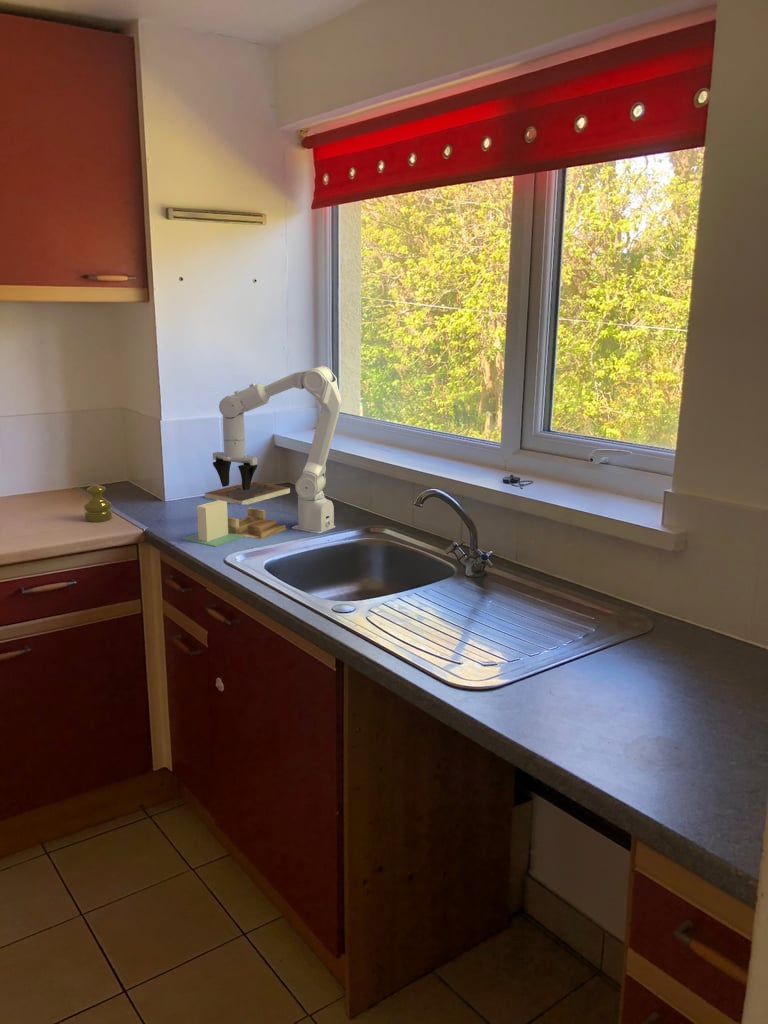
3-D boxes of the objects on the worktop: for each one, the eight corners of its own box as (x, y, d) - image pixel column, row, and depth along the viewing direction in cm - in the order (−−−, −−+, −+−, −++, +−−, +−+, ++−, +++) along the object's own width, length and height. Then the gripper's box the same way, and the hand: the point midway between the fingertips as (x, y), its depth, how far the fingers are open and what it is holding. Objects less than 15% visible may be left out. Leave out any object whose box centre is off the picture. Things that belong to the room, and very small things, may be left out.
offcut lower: (280, 529, 228) (280, 525, 228) (261, 536, 221) (260, 532, 221) (267, 527, 230) (266, 522, 230) (247, 533, 224) (247, 529, 223)
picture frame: (242, 508, 254) (290, 494, 271) (242, 500, 254) (289, 487, 271) (204, 499, 264) (253, 487, 281) (204, 492, 263) (253, 480, 280)
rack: (288, 530, 229) (288, 514, 228) (259, 540, 219) (259, 524, 218) (249, 522, 236) (248, 507, 235) (220, 532, 226) (219, 516, 225)
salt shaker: (116, 516, 241) (114, 482, 239) (105, 523, 234) (103, 488, 232) (92, 515, 242) (89, 481, 240) (80, 522, 235) (77, 487, 232)
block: (228, 534, 222) (226, 501, 220) (207, 541, 216) (205, 507, 213) (219, 532, 224) (218, 500, 222) (198, 539, 217) (196, 506, 215)
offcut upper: (277, 525, 227) (277, 521, 227) (259, 532, 221) (259, 527, 221) (265, 523, 229) (265, 519, 229) (247, 529, 223) (247, 525, 223)
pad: (244, 537, 221) (244, 535, 221) (216, 548, 212) (215, 546, 212) (211, 530, 227) (211, 528, 227) (181, 540, 218) (181, 538, 218)
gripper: (204, 438, 229) (206, 487, 232) (244, 444, 221) (246, 493, 225) (221, 435, 235) (223, 482, 238) (261, 440, 227) (263, 489, 231)
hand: (235, 487), depth 232 cm, fingers open, 7 cm apart
